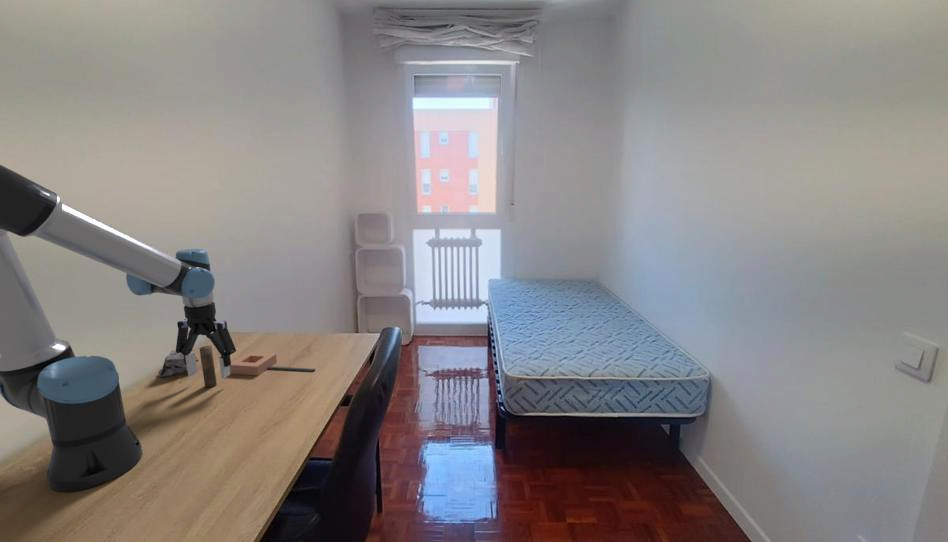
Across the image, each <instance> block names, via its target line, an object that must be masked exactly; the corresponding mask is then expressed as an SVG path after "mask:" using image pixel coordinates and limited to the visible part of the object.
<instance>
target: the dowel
mask: <svg viewBox="0 0 948 542" xmlns="http://www.w3.org/2000/svg"><path fill="white" fill-rule="evenodd" d="M199 354H200V361H201V368H202V374H203V375H202V376H203V382H204V388H205V389H210V388H214V387H216V386H217V385H218V384H217V375H216V369H215V363H214V356H213V349H212V345H204V346H201V347H199Z"/></svg>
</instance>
